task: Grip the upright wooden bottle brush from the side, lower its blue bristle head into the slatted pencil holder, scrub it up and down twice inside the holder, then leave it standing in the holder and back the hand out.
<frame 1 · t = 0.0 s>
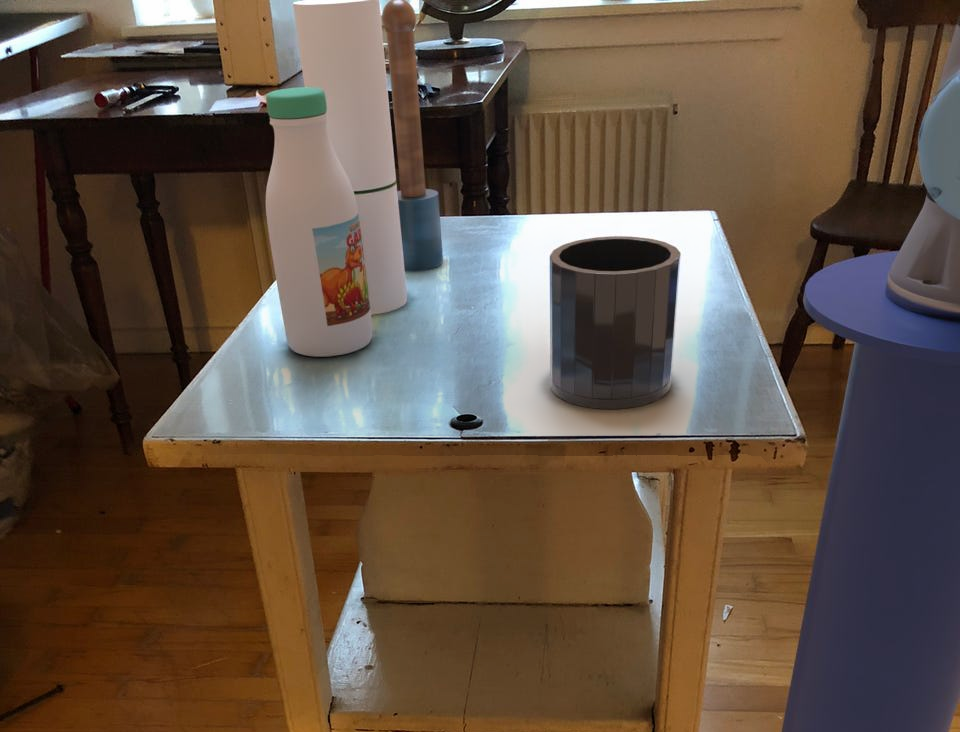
slatted pencil holder: (610, 384, 77), on the table
cylindrical container: (371, 304, 96), on the table
milk bottle: (331, 345, 88), on the table
brush: (419, 263, 106), on the table
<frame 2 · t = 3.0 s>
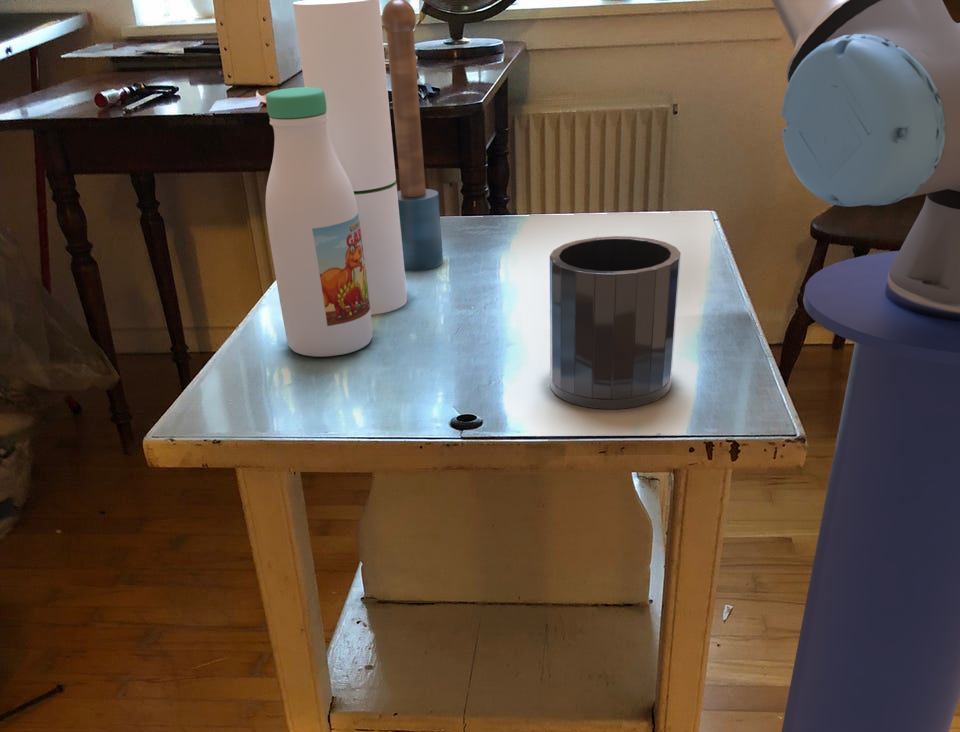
nothing on the table moved.
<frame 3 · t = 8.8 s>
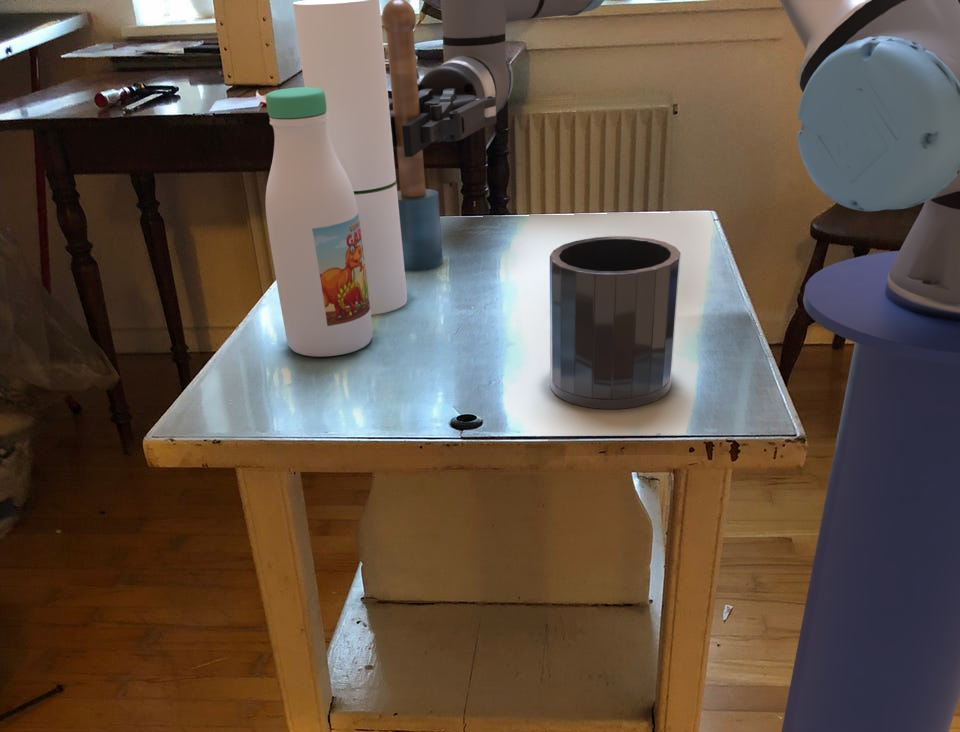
hand: (391, 141, 94), 13 cm above the table, tool horizontal, fingers closed on brush, 3 cm apart
brush: (419, 263, 106), on the table, touching gripper
everything else where it was.
when the fingers open (14 cm above the table, at t = 26.8 s): brush stays where it is, resting on slatted pencil holder.
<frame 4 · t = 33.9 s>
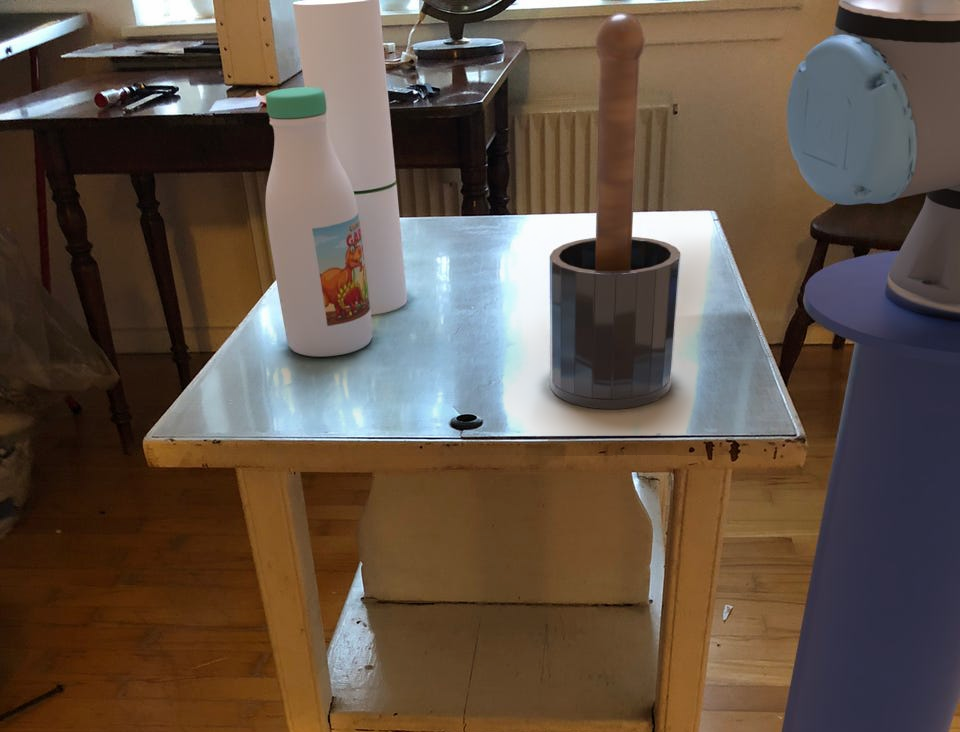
brush: (609, 374, 77), point 1 cm above the table, touching slatted pencil holder
everything else where it was.
at the end: brush 0.1 cm off-centre in the slatted pencil holder, point 0.8 cm above the slatted pencil holder's base; the gripper is holding nothing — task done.
